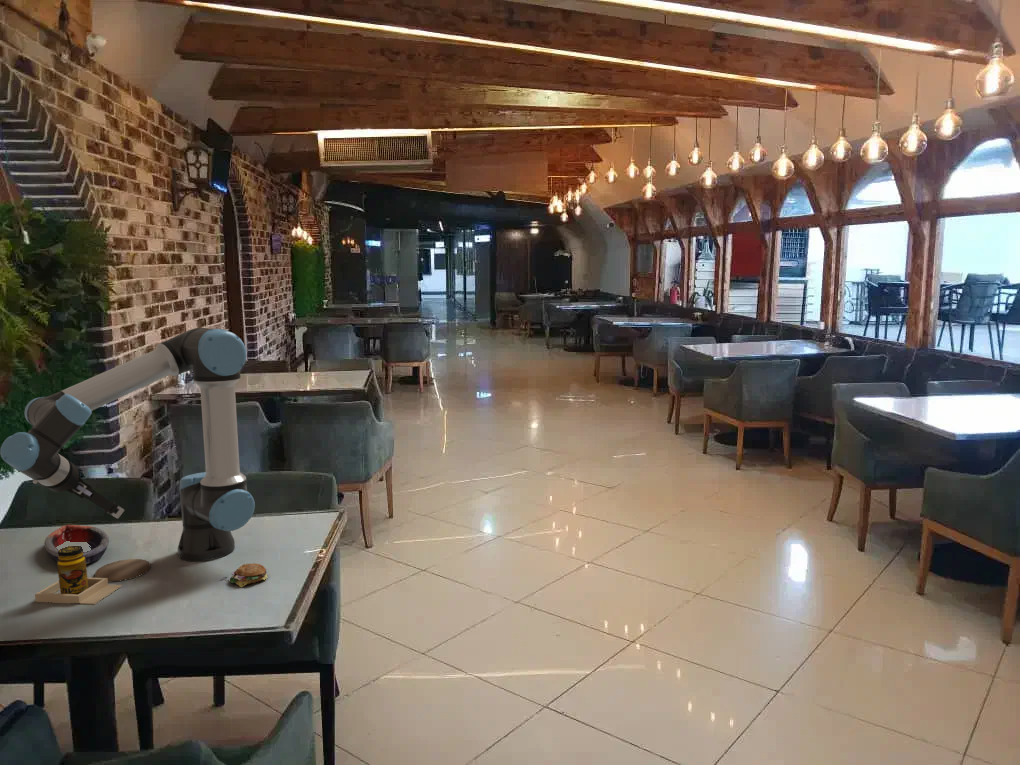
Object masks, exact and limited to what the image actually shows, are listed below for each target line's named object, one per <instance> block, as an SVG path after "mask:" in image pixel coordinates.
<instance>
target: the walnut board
mask: <svg viewBox="0 0 1020 765" xmlns="http://www.w3.org/2000/svg"><path fill="white" fill-rule="evenodd" d="M150 569H151V563H150V561H148V560H146V559H142V558H128V559H123V560H122V559H121V560H118V561H113V562H110V563H107V564H104V565H102V566H101V567H99V568H98V569H96V571H95V578H108V581H117V582H121V581H120V580H124V581H126V580H125V579H128V580H131V579H130V578H132V579H134V578H133V577H135V578H137V577H136V576H138V577H140V576H139V575H141V574H143V573H145V572H146V571H147V572H149V571H148V570H150ZM147 572H146V573H147ZM146 573H145V574H146ZM143 575H144V574H143ZM141 576H142V575H141Z"/></svg>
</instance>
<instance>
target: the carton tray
mask: <svg viewBox="0 0 1020 765" xmlns="http://www.w3.org/2000/svg"><path fill="white" fill-rule="evenodd" d="M87 578H88V589H86V590H85V591H83V592H81V593H80V594H78V595H76V594H55V593H57V592H59V591H60V584H59V580H57V581H55V582H53V583H52V584H50V585H49V586H47V587H45V588H43V589H41V590H40V591H38V592H36V593H35V594H34V596H35V597H34V598H35V599H34V600H35V603H48V602H49V603H51V602H52V603H53V604H56V603H57V604H70V603H80V604H79V605H92V604H95V605H97V604H98V603H99V601H100V600H101V601H103V600H104V599H105V597H106V596H107V597H109V596H110V595H112V594H113V593H115V592H116V591H118V590H119V589H121V588H122V587H123V584H109V582H108V578H96V577H89V576H87ZM121 586H122V587H121ZM120 587H121V588H120ZM118 588H119V589H118ZM117 589H118V590H117ZM115 590H116V591H115ZM114 591H115V592H114ZM111 593H112V594H111ZM109 594H110V595H109ZM108 595H109V596H108ZM107 597H106V598H107ZM103 598H104V599H103ZM102 599H103V600H102ZM101 601H100V602H101ZM97 602H98V603H97Z"/></svg>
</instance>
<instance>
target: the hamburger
mask: <svg viewBox="0 0 1020 765" xmlns="http://www.w3.org/2000/svg"><path fill="white" fill-rule="evenodd" d="M265 579H266V580H267V579H268V574H267V568H266V567H265V566H264V565H262V564H261V563H255V562H254V563H243V564H241V565H240V566H239V567H237V568H236V569H235V571H233V572H231V577H230V581H229V583H231V584H233V583H235V584H236V585H238V586H239V588H240V587H241V588H243V587H245V586H246V585H252V584H251V583H253V584H256V582H257V583H260V582H261V581H263V580H264V581H266V580H265ZM259 581H260V582H259Z"/></svg>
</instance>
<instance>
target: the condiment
mask: <svg viewBox="0 0 1020 765" xmlns="http://www.w3.org/2000/svg"><path fill="white" fill-rule="evenodd" d="M58 559H59V561H58V562H57V564H56V566H57V573H58V581H59V584H60V590H59V591H57V592H55V593H54V594H76V595H78V594H80V593H81V592H83V591H85V590H86V589H88V588H89V586H88V578H87V577H88V570H87V564H86V560H85V557H84V556H83V549H82V547H81V546H68V547H65V548H62V549H60V550H59V551H58Z"/></svg>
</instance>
